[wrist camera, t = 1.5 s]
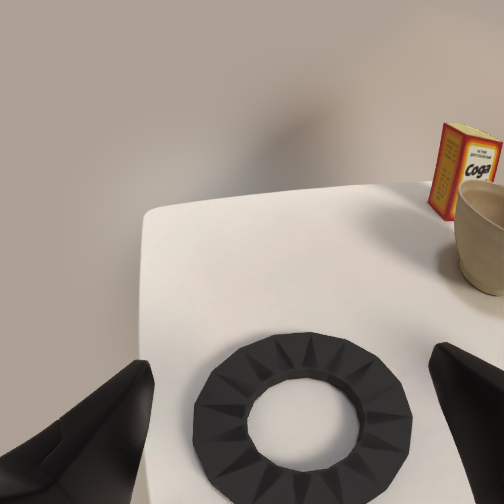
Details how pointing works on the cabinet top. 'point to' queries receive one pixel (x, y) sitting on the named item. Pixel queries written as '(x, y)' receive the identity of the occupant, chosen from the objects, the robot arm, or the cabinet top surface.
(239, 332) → the cabinet top surface
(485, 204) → the planter bowl
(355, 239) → the cabinet top surface
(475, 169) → the baking soda box
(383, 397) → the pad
